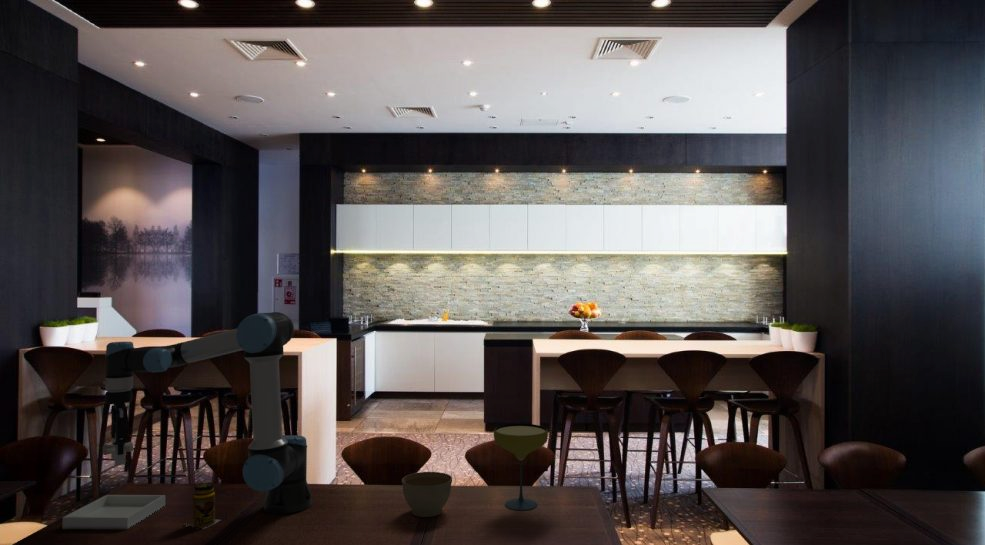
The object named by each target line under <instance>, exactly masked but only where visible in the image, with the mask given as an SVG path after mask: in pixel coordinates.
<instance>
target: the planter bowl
mask: <svg viewBox="0 0 985 545" xmlns="http://www.w3.org/2000/svg"><path fill="white" fill-rule="evenodd" d="M452 481H453V477H452V476H451V474H448V473H445V472H439V471H419V472H414V473H411V474H408V475H407V474H406V475H405V476H404V477H403V478H402V479H401V483H402V492H403V496H404V499H405V501H406V503H407V505H408V506H409V508H410V510H411V513H412V514H413V515H414V516H416V517H420V518H421V517H422V518H430V517H431V518H432V517H435V516H439V515H440V514H441V513H442V512H443V508H444V506H446V504H447V502H448V500H449V498H450V494H451V490H452V483H453V482H452Z"/></svg>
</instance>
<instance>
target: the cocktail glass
mask: <svg viewBox="0 0 985 545" xmlns="http://www.w3.org/2000/svg"><path fill="white" fill-rule="evenodd" d="M548 438H549V433H548V429H547V427H545V426H542V425H538V424H531V423H510V424H509V423H508V424H502V425H498V426H497V427H495V428H494V430H493V439H494V442H495V443H496V444H497V446H499V447H500V448H502V449H503V450H505V451H508V452H510V453H512V454H513V455H514V456H515V458H516V459H517V460H518V461H519V496H518V498H513V499H509V500H506V501H505V503H504V507H506V508H507V509H509V510H512V511H521V512H524V511H531V510H534V509H536V508H537V507H538V502H536V501H535V500H532V499H531V498H530V499H529V498H524V494H523V460H525V458H526V457H527V456H528V454H530V453H532V452H534V451H537V450H539V449H540V448H542V447H543V446H544V445H545V444H546V443H547V442H548Z"/></svg>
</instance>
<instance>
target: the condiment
mask: <svg viewBox="0 0 985 545" xmlns="http://www.w3.org/2000/svg"><path fill="white" fill-rule="evenodd" d="M214 487H215V485H214V483H213V482H202V483H198V484H195V486H194V494H193V498H192V499H193V501H192V502H193V507H192V508H193V512H192V513H193V515H192V517H193V518H192V521H193V523H194V526H195V527H204V528H202V529H201V530H205V529H207V528H210V527H211V526H213V525H215V524H217V523H218V522H220V521H222V519H216V514H215V513H216V492H215V490H214V489H215V488H214ZM188 526H189V525H188ZM188 526H187V525H186V526H185V527H188ZM207 526H208V527H207Z"/></svg>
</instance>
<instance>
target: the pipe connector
mask: <svg viewBox="0 0 985 545" xmlns="http://www.w3.org/2000/svg"><path fill="white" fill-rule="evenodd" d="M115 442H116V433H115ZM134 449H135V448H134V444H133V442H132V441H128V442H126V443H125V453H127V452H128V453H129V452H130V453H132V452H133V451H134ZM114 452H115V445H111V444H103V446H102V455H103V456H107V455H111V453H114Z"/></svg>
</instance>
